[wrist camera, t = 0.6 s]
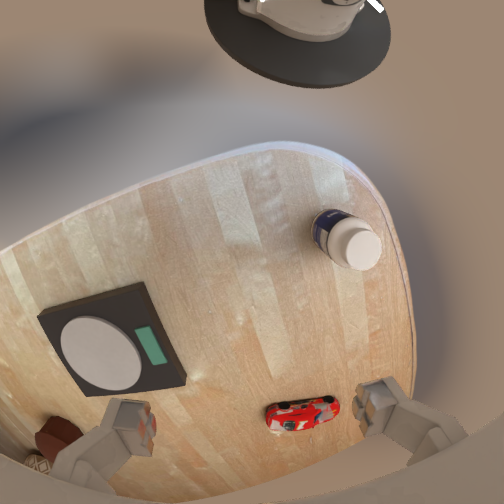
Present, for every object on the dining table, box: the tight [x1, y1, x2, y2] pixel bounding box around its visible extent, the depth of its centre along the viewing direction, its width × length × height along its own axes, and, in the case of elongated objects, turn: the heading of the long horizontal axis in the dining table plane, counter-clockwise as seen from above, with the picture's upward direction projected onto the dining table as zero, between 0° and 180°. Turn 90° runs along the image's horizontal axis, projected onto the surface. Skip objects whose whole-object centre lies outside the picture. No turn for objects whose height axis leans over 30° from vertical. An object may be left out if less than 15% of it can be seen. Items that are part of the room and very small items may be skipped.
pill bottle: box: [311, 209, 382, 271], centre depth 30 cm, size 5×5×10 cm
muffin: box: [35, 416, 83, 464], centre depth 37 cm, size 12×11×10 cm
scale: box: [37, 282, 187, 397], centre depth 35 cm, size 16×19×3 cm
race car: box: [266, 396, 340, 431], centre depth 41 cm, size 13×5×4 cm, turn 88°
